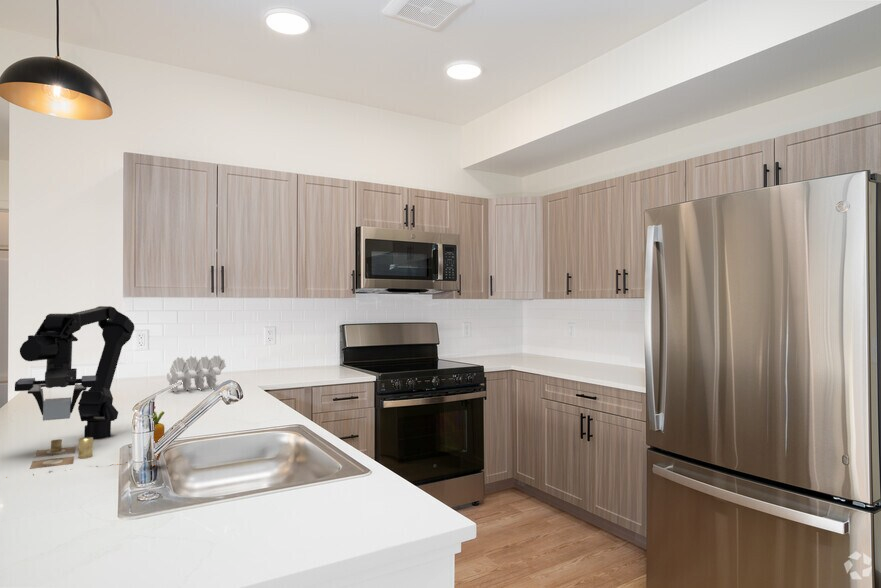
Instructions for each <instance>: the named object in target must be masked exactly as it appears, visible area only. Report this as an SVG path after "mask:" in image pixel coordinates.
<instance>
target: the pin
mask: <svg viewBox="0 0 881 588" xmlns="http://www.w3.org/2000/svg"><path fill="white" fill-rule="evenodd" d="M93 441H94V439H93V437H84V436H83V437H79V438H78V455H77V459H88V458H89V459H90V458H92V457H93V454H94V453H93V450H94V449H93V448H94V446H93V445H94V442H93Z"/></svg>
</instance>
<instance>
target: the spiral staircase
mask: <svg viewBox="0 0 881 588" xmlns="http://www.w3.org/2000/svg"><path fill="white" fill-rule="evenodd" d="M225 368H226V362H225V359H224V358H223V359H222V357H221V355H220V354H218V355H213V357H212V358H209V356H208V355H205V356H201V358H199V359H198V358H197V356H192V355H190V356H189V357H188V358H186V360H185V359H184V357H183V356H182V357H179V356H177V357H176V359H174V360H173V361H172V364H171V367H170V368H169V369H170V370H169V371H170V372H168V373H166V380H167V382H169V386H170V385H172V384H175V383H177V382H179V381H181V383H182V382H183V384H182V387H183V389H184V390H185V389H186V390H188V391H191V390H192V389H191V386H192V384H193V383H192V379H193V381H194V386H195V387H196V389H197V388H200V389H202V390H203V389H204V388H205V382H206V384H207V387H208V388H209V387H210V388H209V389H211V388H213V389H214V388H216V387H217V385H216V383H217V382H218V379H217V376H219V375H221V373H222V370H224V369H225ZM205 379H206V381H205ZM178 387H179V385H178V386H176V387H174V388H172V389H171V388H170V390H172V391H171V392H173V391H174V392H175V391H176V392H178V391H179V390H178V389H179V388H178ZM186 390H185V391H186ZM174 392H173V393H174Z"/></svg>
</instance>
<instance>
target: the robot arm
mask: <svg viewBox="0 0 881 588" xmlns="http://www.w3.org/2000/svg"><path fill="white" fill-rule="evenodd" d="M95 323H97V324H98V327H100V328H101V330H102V333H101V335H102V338H103V341H104V346H103V350H102V352H101V356H100V358H99V361H98V365H97V369H96V372H95V375H94V374H93V375H82V376H81V378H77V370H78V369H77V368H76V367H75V368H72V362H73V361H72V360H73V359H72V357H73V355H72V354H73V342H78V340H79V339H78V338H77V336H75V335H74V334H75V333H76V332H78V331H80V330H81V328H82V327H83V326H88V325H90V324H95ZM134 331H135V324H134V322H133V321H132V320H131V319H130V318H129V317H128V316H127V315H125V314H124V313H121V312H120V311H118V310H117V309H116V308H115V307H113V306H110V305H109V306H104V305H101V306H96V307H94V308H90V309H85V310H80V311H78V312H73V313H48V314H46V316H45V318H44V319H43V320H42V323H41V324H40V326H39V327H38V329H37V331H36V332H35V334H34V335H33V334H32V335H31V334H30V335H28V336H27V340H25V341H23V343H22V344H21V346H20V347H19V354H20V357H21V358H22V359H23V360H25V362H37V361H44V360H46V369H45V372H44V379H43V380H36V377H29V378H19V379H18V380H17V381H15V382H14V392H26V391H27V394H29V395H30V394H32V396H33V397H34V399H35V400H36V403H37V405H38V408H39V410H40V413H41V415H42V416H43V402H44V400H45V399H44V391H43V388H47V389H53V388H66V387H69V386H74V388H73V392H72V396H71V407H70V413H71V414H72V413H73V411H74V408H75V405H76V402H77V401H78V398H80V399H79V401H78V403H77V404H78V408H77V410H78V414H79V417H80V421H81V422H86V425H84V434H83V435H84V436H83V437H93V440H101V439H106V438H111V437H112V436H111V435H112V434H111V432H112V431H111V429H112V428H111V427H112V421H114V422H115V420H117V419H118V415H119V412H118V410H117V408H116V407H115V406H114V405H113V401H114V398H113V394H112V392H111V387H112V384H113V380H114V377H115V373H116V371H117V366H118V364H119V363H118V362H119V360H120V356H121V353H122V349H123V347H124V345H126V344H127V343H128V342H129V341H130V340H131V338H132V336H133V333H134ZM87 388H89V389H87Z"/></svg>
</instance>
